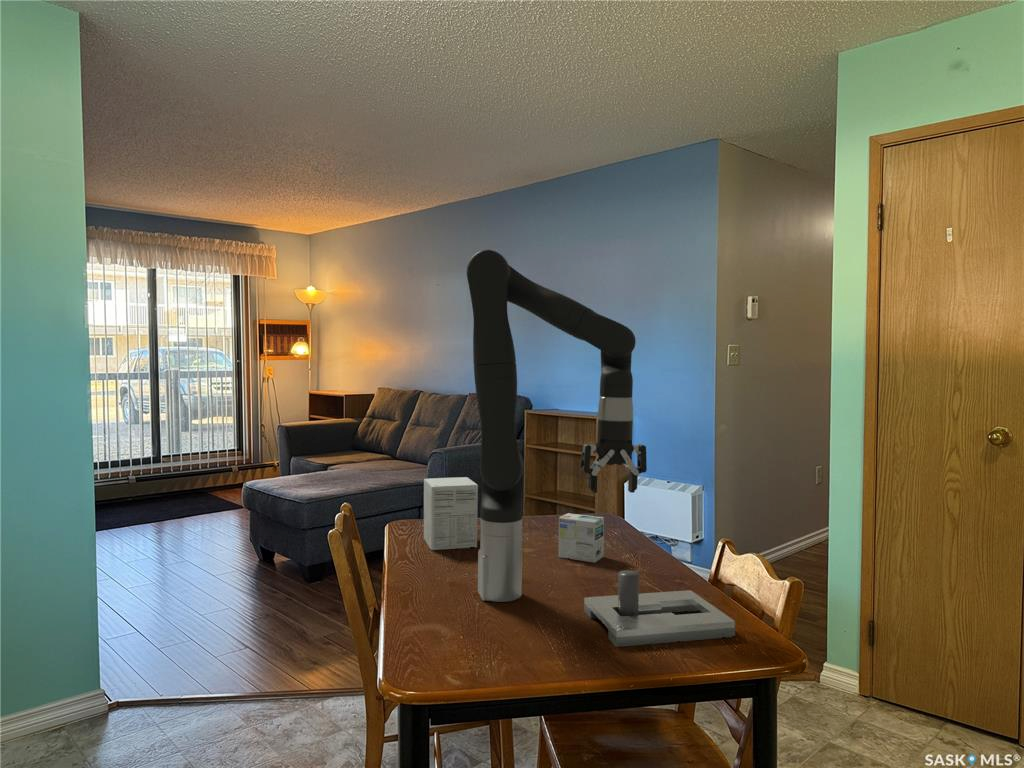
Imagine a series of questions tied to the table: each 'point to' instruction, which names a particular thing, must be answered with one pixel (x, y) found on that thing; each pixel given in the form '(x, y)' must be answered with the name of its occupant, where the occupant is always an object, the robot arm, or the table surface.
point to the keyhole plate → (660, 619)
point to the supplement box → (450, 513)
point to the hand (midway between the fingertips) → (612, 492)
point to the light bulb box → (581, 537)
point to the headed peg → (628, 593)
